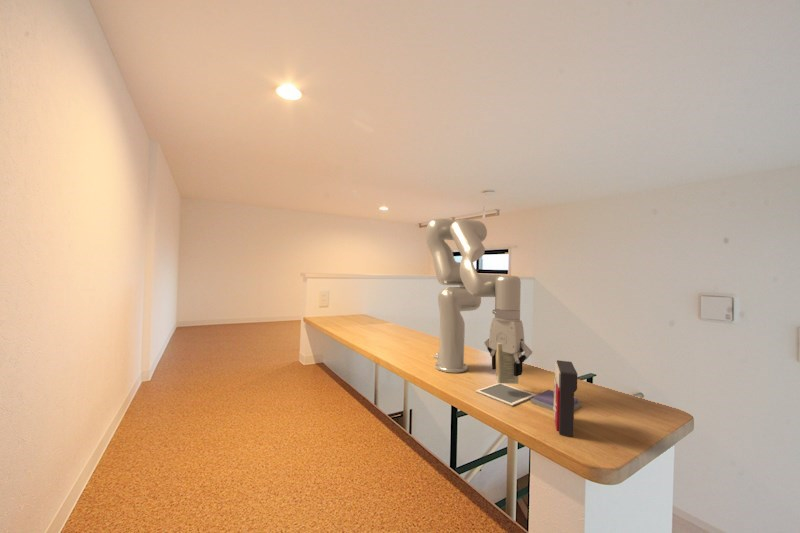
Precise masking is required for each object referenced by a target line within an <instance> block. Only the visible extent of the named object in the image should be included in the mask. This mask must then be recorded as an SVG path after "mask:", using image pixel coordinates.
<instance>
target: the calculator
mask: <svg viewBox="0 0 800 533" xmlns="http://www.w3.org/2000/svg"><path fill="white" fill-rule="evenodd" d="M554 363H555V365H554V366H555V367H554V371H555V372H554V375H555V377H553V391H554V407H553V410H554V411H553V418H554V423H555V429H556V431H557V432H558V434H559V435H561V436H566V437H572V438H573V437H574V428H575V426H574V421H575V420H574V419H575V417H574V416H575V415H574V414H575V412H574V411H575V410H574V398H575V393H576V392H577V390H578V372H577V370H576V368H575V366H574V365H573V362H572V361H567V360H566V361H565V360H556V361H555V362H554Z"/></svg>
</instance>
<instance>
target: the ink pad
mask: <svg viewBox="0 0 800 533" xmlns="http://www.w3.org/2000/svg"><path fill="white" fill-rule="evenodd" d="M529 400H530V404H534V405H537V406H539V407H542V408H545V409H548V410H550V411H552V412H554V410H553V407H554V390H551V389H548V390H545V391H543V392H540V393H537V394H536V395H535V396H534V397H533V398H531V399H529ZM581 407H582V402H581V401H579V398H577V397H574V411H576V410H577V409H579V408H581Z"/></svg>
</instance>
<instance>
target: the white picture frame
mask: <svg viewBox="0 0 800 533" xmlns="http://www.w3.org/2000/svg"><path fill="white" fill-rule="evenodd" d="M475 393H477V394H479V395H482V396H484V397H487V398H490V399H493V400H495V401H497V402H500V403H503V404H505V405H507V406H510V407H514V406H517V405H520V404H521V403H524V402H527V401H528V400H531V399H532V398H534V396H535V395H537V394H536V393H534V392H533V393H532V392H529V391H526V390H525V389H524V390H523V389H521V388H518V387H515V386H512V385H510V384H507V383H498V382H497V383H494V384H491V385H489V386H484V387H483V388H479V389H476V390H475Z"/></svg>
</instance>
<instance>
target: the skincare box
mask: <svg viewBox="0 0 800 533" xmlns="http://www.w3.org/2000/svg"><path fill="white" fill-rule="evenodd" d="M514 363H516V361H515V358H514V356H513V354H508V353H504V352H502V344H500V343H498V344H497V351H496V369H495V380H496V381H497V383H503V384H507V385H510V384H511V385H518V384H519V376H514Z"/></svg>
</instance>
